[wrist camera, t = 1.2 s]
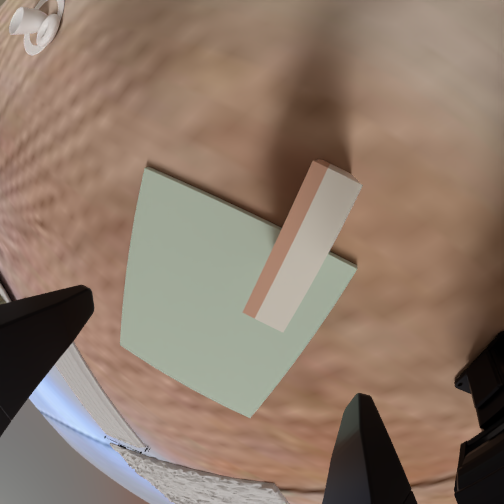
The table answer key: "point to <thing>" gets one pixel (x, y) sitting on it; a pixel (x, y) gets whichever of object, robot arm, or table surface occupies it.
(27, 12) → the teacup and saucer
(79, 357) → the baseboard
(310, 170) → the tile
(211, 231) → the mat
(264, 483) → the carpet tile
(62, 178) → the table surface
